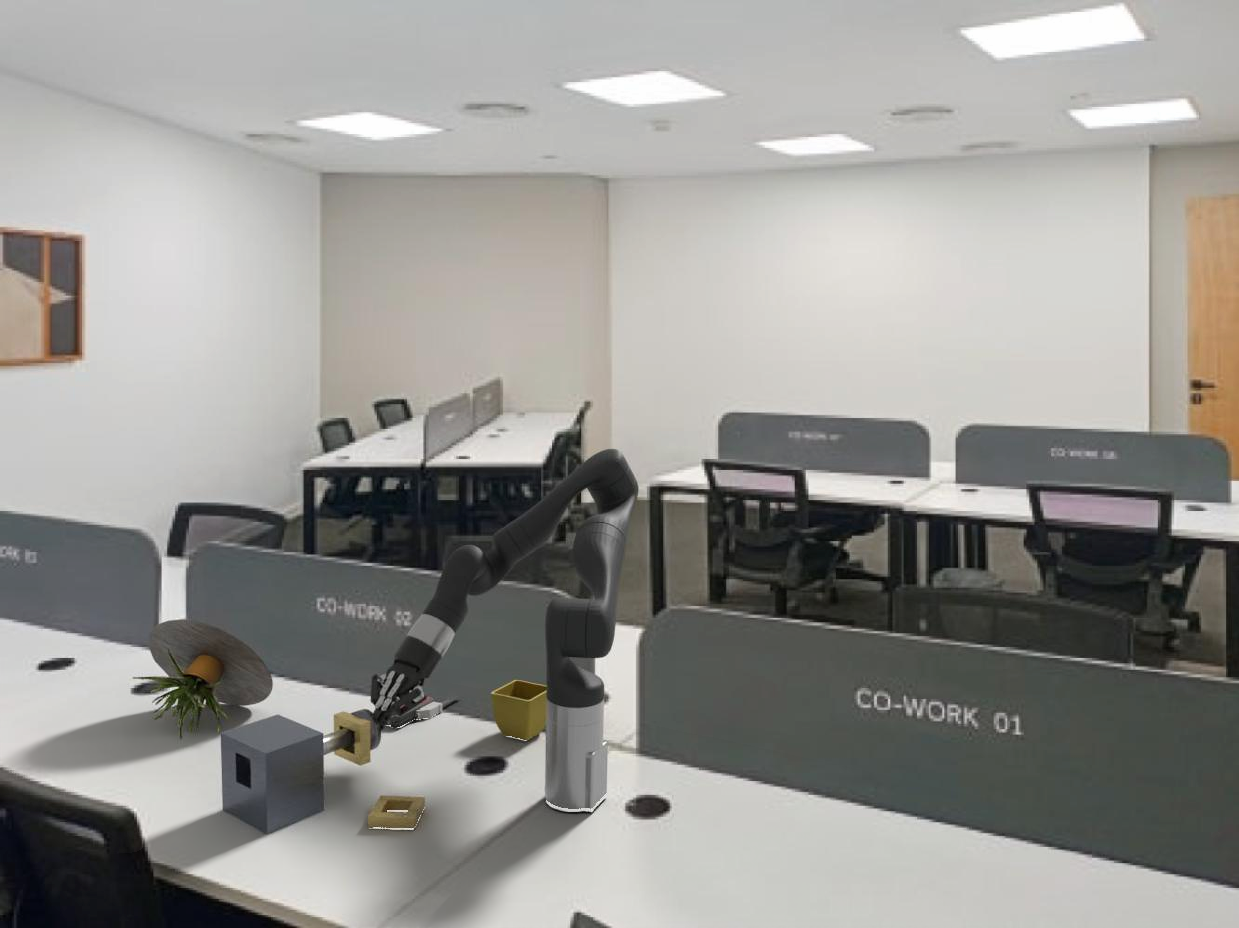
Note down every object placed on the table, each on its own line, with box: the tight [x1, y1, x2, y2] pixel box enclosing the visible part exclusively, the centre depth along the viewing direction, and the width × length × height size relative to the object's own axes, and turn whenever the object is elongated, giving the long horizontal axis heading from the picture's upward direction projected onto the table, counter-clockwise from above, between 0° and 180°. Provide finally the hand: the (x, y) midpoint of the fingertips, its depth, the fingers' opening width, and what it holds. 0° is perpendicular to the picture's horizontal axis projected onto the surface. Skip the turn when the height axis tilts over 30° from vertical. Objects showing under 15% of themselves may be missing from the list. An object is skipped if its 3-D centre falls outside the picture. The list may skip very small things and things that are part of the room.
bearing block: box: [220, 714, 325, 835], centre depth 152 cm, size 10×12×12 cm
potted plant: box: [132, 619, 274, 740], centre depth 185 cm, size 25×18×25 cm
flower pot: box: [490, 679, 547, 740], centre depth 184 cm, size 9×9×9 cm
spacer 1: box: [333, 710, 371, 767], centre depth 164 cm, size 2×7×7 cm, turn 53°
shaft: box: [323, 708, 382, 756], centre depth 158 cm, size 20×7×7 cm, turn 143°
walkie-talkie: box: [386, 695, 451, 729], centre depth 195 cm, size 9×4×20 cm
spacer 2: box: [367, 795, 426, 828], centre depth 151 cm, size 7×7×2 cm
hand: (370, 732), depth 168 cm, fingers closed
